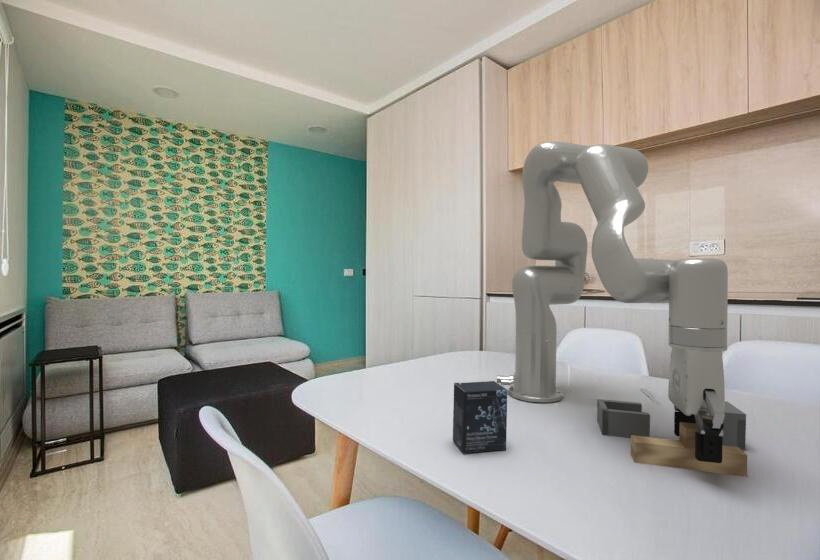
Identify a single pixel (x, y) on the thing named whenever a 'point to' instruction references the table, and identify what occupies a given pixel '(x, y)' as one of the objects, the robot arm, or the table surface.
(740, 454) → the slat
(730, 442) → the channel bracket
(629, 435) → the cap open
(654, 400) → the butter knife
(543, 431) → the table surface
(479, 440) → the box
